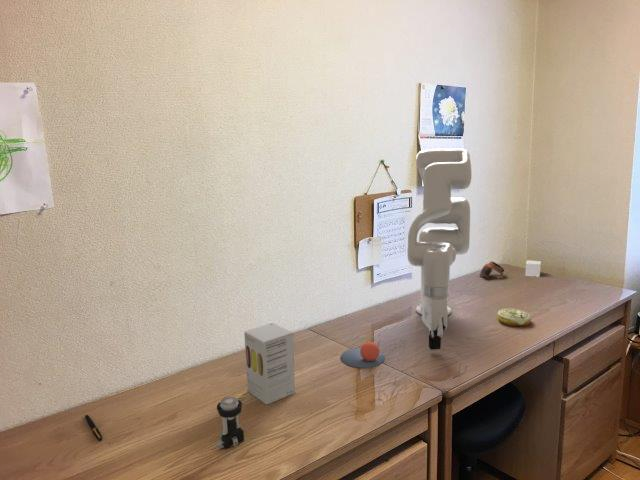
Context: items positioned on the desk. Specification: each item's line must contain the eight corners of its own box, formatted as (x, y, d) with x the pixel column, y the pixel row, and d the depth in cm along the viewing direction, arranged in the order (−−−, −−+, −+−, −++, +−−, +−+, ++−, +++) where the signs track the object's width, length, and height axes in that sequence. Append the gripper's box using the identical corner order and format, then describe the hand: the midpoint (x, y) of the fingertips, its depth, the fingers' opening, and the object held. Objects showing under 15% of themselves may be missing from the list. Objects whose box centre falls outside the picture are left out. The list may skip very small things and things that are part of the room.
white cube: (540, 273, 225) (541, 261, 224) (539, 277, 220) (540, 264, 218) (526, 272, 228) (526, 260, 226) (525, 275, 222) (526, 263, 221)
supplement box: (246, 391, 127) (242, 330, 124) (275, 379, 133) (272, 321, 129) (266, 405, 120) (263, 342, 116) (296, 392, 126) (294, 331, 122)
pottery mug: (482, 274, 229) (492, 259, 226) (499, 286, 223) (509, 271, 221) (472, 273, 219) (482, 258, 217) (489, 286, 214) (500, 271, 211)
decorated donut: (526, 330, 162) (527, 319, 161) (493, 324, 168) (494, 313, 167) (533, 320, 170) (533, 310, 169) (501, 314, 176) (502, 304, 175)
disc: (338, 349, 150) (337, 349, 150) (379, 347, 151) (379, 346, 151) (344, 369, 137) (344, 368, 137) (389, 366, 139) (389, 365, 138)
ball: (377, 352, 146) (359, 357, 145) (374, 336, 144) (356, 341, 143) (383, 362, 141) (364, 367, 140) (380, 345, 139) (361, 350, 138)
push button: (223, 456, 101) (219, 413, 99) (209, 445, 105) (206, 403, 103) (249, 442, 105) (246, 400, 103) (235, 432, 109) (232, 392, 107)
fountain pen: (82, 416, 118) (81, 411, 118) (87, 414, 119) (87, 409, 118) (99, 444, 107) (98, 438, 107) (104, 442, 108) (103, 435, 107)
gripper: (416, 283, 149) (415, 339, 153) (431, 298, 135) (430, 360, 138) (439, 282, 150) (438, 337, 154) (457, 297, 135) (455, 358, 139)
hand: (434, 348), depth 146 cm, fingers closed
